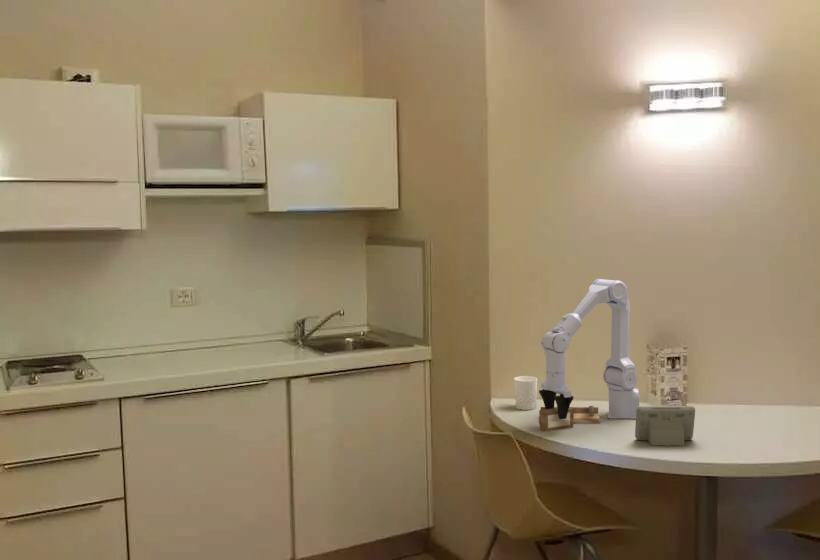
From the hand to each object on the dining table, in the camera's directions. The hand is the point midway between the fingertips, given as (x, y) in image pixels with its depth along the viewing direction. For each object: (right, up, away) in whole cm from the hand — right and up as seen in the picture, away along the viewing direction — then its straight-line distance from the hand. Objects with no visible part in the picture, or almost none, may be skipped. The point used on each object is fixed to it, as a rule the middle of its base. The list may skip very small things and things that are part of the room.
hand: (556, 415), depth 242 cm
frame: (0, -4, 0) cm, 4 cm away
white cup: (-5, -2, +26) cm, 26 cm away
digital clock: (+28, -5, -17) cm, 33 cm away
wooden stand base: (+6, -3, +9) cm, 11 cm away
